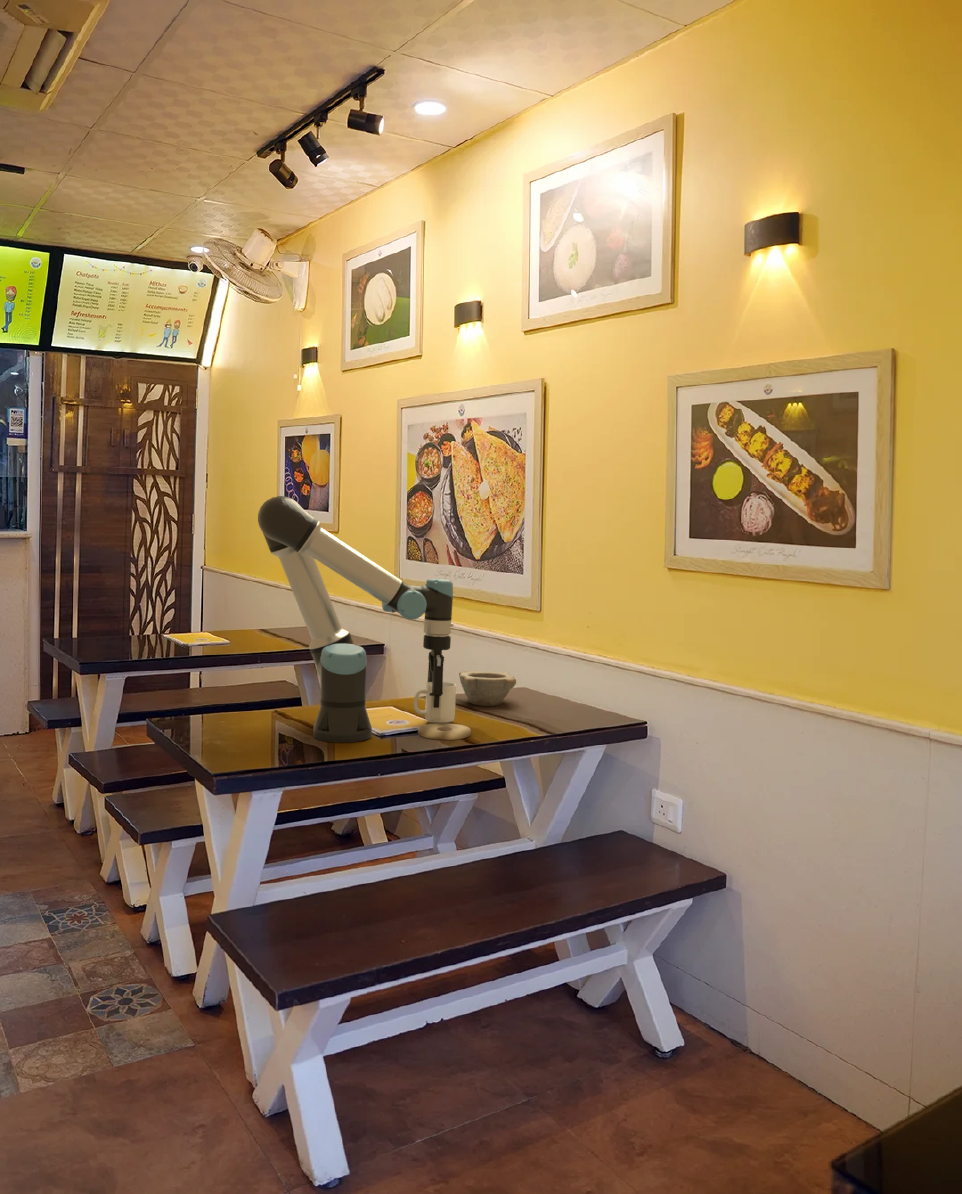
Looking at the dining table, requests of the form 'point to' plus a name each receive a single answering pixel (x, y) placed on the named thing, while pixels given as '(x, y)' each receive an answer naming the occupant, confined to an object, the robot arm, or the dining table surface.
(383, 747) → the dining table surface
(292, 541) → the robot arm
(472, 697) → the mortar
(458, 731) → the disc
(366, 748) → the dining table surface
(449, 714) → the cup
